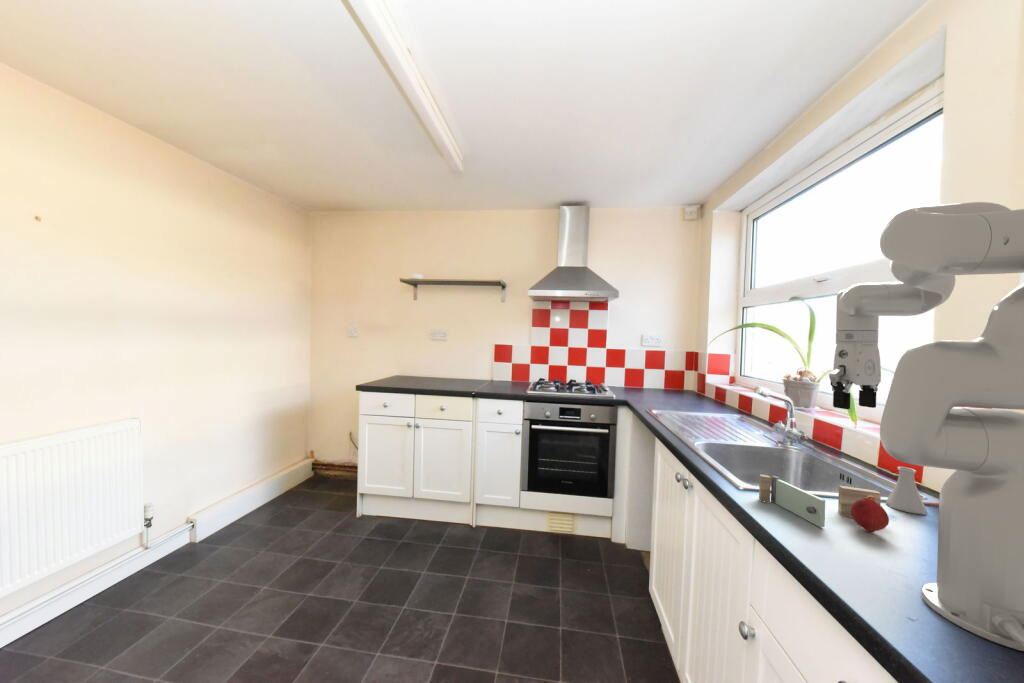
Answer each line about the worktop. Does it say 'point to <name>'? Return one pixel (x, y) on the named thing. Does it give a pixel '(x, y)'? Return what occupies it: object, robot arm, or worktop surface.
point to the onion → (869, 514)
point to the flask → (906, 493)
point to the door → (798, 501)
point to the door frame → (845, 495)
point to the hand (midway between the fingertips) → (854, 407)
